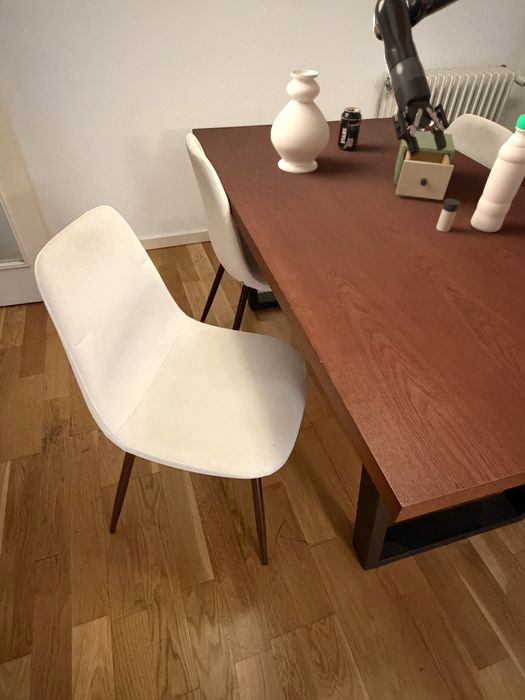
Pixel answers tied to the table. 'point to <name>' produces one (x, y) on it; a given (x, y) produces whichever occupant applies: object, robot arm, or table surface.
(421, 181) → the drawer
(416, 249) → the table surface
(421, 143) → the cabinet
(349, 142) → the beverage can
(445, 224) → the small capped bottle
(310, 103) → the decorative vase
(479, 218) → the water bottle
